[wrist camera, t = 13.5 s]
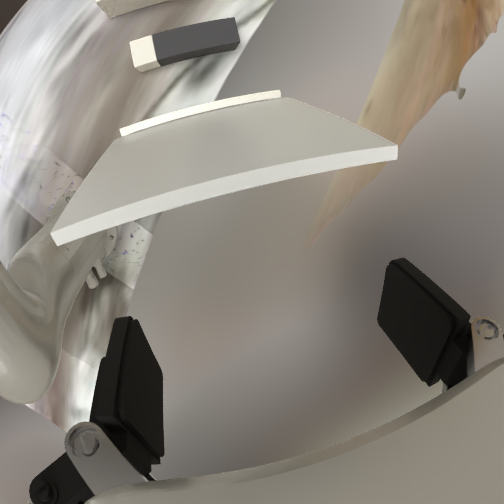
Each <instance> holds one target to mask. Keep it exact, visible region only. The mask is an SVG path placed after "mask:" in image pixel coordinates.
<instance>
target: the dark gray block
mask: <svg viewBox="0 0 504 504" xmlns="http://www.w3.org/2000/svg"><path fill="white" fill-rule="evenodd" d="M239 43H240V39H239V34H238V30H237V26H236V22H235V17H233V18H226V19H219V20H213V21H208V22H203V23H198V24H193V25H188V26H184V27H180V28H176V29H172V30H168V31H164V32H160V33H157V34H153V35H150V36H147V37H144V38H141V39H137V40H134V41H131V42H130V47H131V53H132V57H133V62H134V67H135V68H136V69H137V70H139V71H140V72H144V71H147V70H150V69H154V68H157V67H160V66H164V65H167V64H171V63H175V62H179V61H182V60H186V59H191V58H195V57H199V56H204V55H209V54H214V53H219V52H224V51H230V50H235V49H236V47H237V46H238V44H239Z"/></svg>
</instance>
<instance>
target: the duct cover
mask: <svg viewBox="0 0 504 504" xmlns="http://www.w3.org/2000/svg"><path fill="white" fill-rule="evenodd" d="M397 153H398V145H397V144H395V143H393V142H391V141H389V140H387V139H385V138H383V137H381V136H379V135H377V134H375V133H373V132H371V131H369V130H367V129H365V128H363V127H361V126H359V125H357V124H355V123H352V122H350V121H348V120H346V119H343V118H341V117H339V116H336V115H334V114H332V113H329V112H327V111H325V110H322V109H320V108H317V107H315V106H312V105H309V104H307V103H304V102H301V101H299V100H296V99H293V98H290V97H285V98H278V99H271V100H265V101H258V102H253V103H247V104H242V105H237V106H232V107H227V108H222V109H218V110H213V111H209V112H205V113H201V114H197V115H193V116H189V117H185V118H181V119H178V120H174V121H171V122H167V123H164V124H160V125H157V126H154V127H151V128H148V129H145V130H142V131H139V132H136V133H133V134H130V135H127V136H124V137H121V138H119V139H116V140H114V141H113V143H112V144H111V145H110V146H109V147H108V149H107V150H106V151H105V153H104V154H103V155H102V156H101V158H100V159H99V160H98V162H97V163H96V164H95V166H94V167H93V168H92V170H91V171H90V172H89V174H88V175H87V176H86V178H85V179H84V181H83V182H82V183H81V185H80V186H79V188H78V189H77V191H76V192H75V194H74V195H73V197H72V198H71V200H70V201H69V203H68V204H67V206H66V207H65V209H64V211H63V212H62V214H61V215H60V217H59V219H58V220H57V222H56V224H55V225H54V227H53V229H52V230H51V232H50V234H51V236H52V238H53V240H54V241H55V243H56V245H57V246H59V245H62V244H65V243H67V242H70V241H73V240H76V239H79V238H81V237H84V236H87V235H90V234H93V233H96V232H99V231H102V230H105V229H108V228H111V227H114V226H117V225H120V224H123V223H126V222H129V221H133V220H136V219H139V218H142V217H145V216H149V215H152V214H155V213H159V212H162V211H165V210H169V209H172V208H176V207H179V206H183V205H187V204H190V203H194V202H197V201H201V200H205V199H209V198H212V197H216V196H220V195H224V194H228V193H232V192H236V191H239V190H243V189H248V188H252V187H256V186H261V185H265V184H269V183H274V182H278V181H283V180H287V179H292V178H296V177H301V176H306V175H311V174H315V173H321V172H326V171H331V170H337V169H342V168H347V167H353V166H359V165H365V164H370V163H377V162H383V161H389V160H396V159H397Z"/></svg>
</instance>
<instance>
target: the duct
mask: <svg viewBox="0 0 504 504" xmlns="http://www.w3.org/2000/svg"><path fill="white" fill-rule="evenodd" d="M165 1H169V0H95V2H96V3H97V5H98V6H99V7H100V8H101V9H102V10H103V11H104V12H105V13H106V14H107V15H108V16H109V18H110V19H111V18H114V17H117V16H119V15H122V14H125V13H128V12H131V11H134V10H137V9H140V8H144V7H147V6H150V5H154V4H158V3H161V2H165ZM280 97H281V94H280V90H274V91H268V92H261V93H255V94H250V95H243V96H238V97H233V98H228V99H223V100H219V101H214V102H209V103H205V104H201V105H197V106H193V107H189V108H185V109H181V110H178V111H174V112H171V113H167V114H164V115H160V116H157V117H154V118H151V119H148V120H144V121H141V122H138V123H135V124H132V125H130V126H127V127H124V128H121V129H120V132H121V135H122V136H125V135H128V134H131V133H134V132H137V131H140V130H143V129H146V128H149V127H152V126H156V125H159V124H162V123H166V122H169V121H172V120H176V119H180V118H183V117H187V116H191V115H195V114H199V113H203V112H207V111H211V110H215V109H220V108H225V107H229V106H234V105H239V104H245V103H250V102H256V101H262V100H268V99H273V98H280Z"/></svg>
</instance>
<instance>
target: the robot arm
mask: <svg viewBox="0 0 504 504" xmlns="http://www.w3.org/2000/svg"><path fill="white" fill-rule="evenodd" d="M75 192H76V191H73V192H71V193H68V194H66V195H65V196H63V197H62V198H60V199H59V200H58V201H57V202H56V204H55V205H54V206H53V208H52V210H51V213H50V217H49V221H48V222H47V223H46V224H45V225H44V226H43V227H42V228H41V229H40V230H39V231H38V232H37V233H36V234H35V235H34V236H33V237H32V238H31V239H30V240H29V241H28V242H27V243H26V244H25V245H24V246H23V247H22V248H21V249H20V250H19V251H18V252H17V253H16V254H15V255H14V257H13V258H12V260H11V262H10V264H9V266H8V269H7V270H6V268H5V267H4V265H3V264H2V262H1V261H0V396H1V397H3V398H5V399H7V400H9V401H11V402H14V403H18V404H30V403H33V402H36V401H37V400H39V399H40V398H42V397H43V396H44V395H45V394H46V393H47V391H48V390H49V389H50V387H51V385H52V383H53V381H54V379H55V376H56V373H57V370H58V366H59V362H60V355H61V348H62V339H63V333H64V328H65V325H66V322H67V319H68V316H69V314H70V311H71V309H72V307H73V305H74V302H75V300H76V298H77V296H78V294H79V292H80V290H81V288H82V286H83V284H84V282H85V280H86V282H87V284H88V286H89V288H90V289H92V288H95V287H96V286H98V284H99V282H98V280H97V278H96V276H95V274H94V273H93V271H92V267H95V268H96V270H97V273H98V275H99V277H100V278H104V277H105V276H106V275H107V273H106V271H105V269H104V268H103V266H102V264H101V263H102V260H104V259H105V258H106V257H107V256H108V255H109V254H110V253H111V251H112V249H113V248H114V245H115V243H116V240H117V226H114V227H111V228H108V229H105V230H102V231H99V232H96V233H93V234H90V235H87V236H84V237H81V238H79V239H76V240H73V241H70V242H67V243H65V244H62V245H59V246H57V245H56V243H55V241H54V240H53V238H52V236H51V234H50V232H51V230H52V229H53V227H54V225H55V224H56V222H57V220H58V219H59V217H60V215H61V214H62V212H63V211H64V209H65V207H66V206H67V204H68V203H69V201H70V200H71V199H70V198H72V197H73V195H74V194H75ZM69 197H70V198H69ZM112 235H113V236H112ZM469 319H470V315H469V314H468V313H467V312H466V311H465V310H464V309H463V308H462V307H461V306H460V305H459V304H458V303H457V302H455V301H454V300H453V299H452V298H451V297H450V296H449V295H448V294H446V292H444V291H443V290H442V289H441V288H440V287H439V286H438V285H436V284H435V283H434V282H433V281H432V280H431V279H430V278H428V277H427V276H426V275H425V274H424V273H422V272H421V271H420V270H419V269H418V268H416V267H415V266H414V265H413V264H412V263H410V262H409V261H408V260H407V259H405V258H399V259H396V260H392V261H391V262H390V263H389V265H388V266H387V268H386V273H385V280H384V286H383V291H382V297H381V303H380V307H379V312H378V317H377V320H378V324H379V326H380V327H381V328H382V330H383V331H384V332H385V333H386V334H387V336H388V337H389V338H390V340H391V341H392V342H393V344H394V345H395V346H396V348H397V349H398V350H399V351H400V353H401V354H402V355H403V357H404V358H405V359H406V360H407V362H408V363H409V364H410V366H411V367H412V369H413V370H414V371H415V373H416V374H417V375H418V377H419V378H420V379H421V380H422V381H424V382H426V383H427V385H428V386H432V385H433V384H435V383H437V382H439V380H440V379H441V380H442V381H443V390H442V394H440V395H439V396H437V397H436V398H434V399H432V400H430V401H429V402H427V403H425V404H423V405H421V406H420V407H418V408H416V409H414V410H412V411H410V412H408V413H406V414H404V415H403V416H400V417H398V418H396V419H394V420H392V421H390V422H388V423H386V424H384V425H382V426H379V427H377V428H375V429H373V430H370V431H368V432H366V433H363V434H361V435H358V436H356V437H353V438H351V439H348V440H346V441H343V442H340V443H338V444H335V445H332V446H329V447H326V448H324V449H320V450H317V451H314V452H311V453H308V454H304V455H301V456H298V457H294V458H290V459H287V460H283V461H279V462H276V463H271V464H267V465H262V466H258V467H253V468H248V469H243V470H237V471H231V472H226V473H219V474H213V475H205V476H197V477H189V478H177V479H168V480H158V481H157V480H156V479H155V478H154V477H153V476H152V475H151V474H150V472H151V465H152V464H160V457H163V456H164V431H163V376H162V375H163V374H162V371H161V368H160V366H159V364H158V362H157V360H156V358H155V356H154V355H153V352H152V350H151V347H150V345H149V343H148V341H147V339H146V337H145V335H144V332H143V330H142V328H141V326H140V323H139V321H138V320H137V319H135V320H133V318H132V317H131V316H128V317H121V318H116V319H115V321H114V324H113V328H112V332H111V336H110V340H109V345H108V349H107V353H106V357H103V358H102V359H101V362H100V366H99V371H98V375H97V380H96V385H95V391H94V396H93V402H92V407H91V413H90V420H89V422H81V423H78V424H76V425H74V426H73V427H72V428H71V429H70V430H69V431H68V433H67V434H66V437H65V441H64V443H65V449H66V452H65V453H64V454H63V455H62V456H61V457H59V458H58V459H57V460H56V461H54V462H53V463H52V464H51V465H49V466H48V467H47V468H46V469H45V470H43V471H42V472H41V473H40V474H39V475H37V476H36V477H35V478H34V479H33V480H32V482H31V484H30V489H29V493H30V498H31V501H30V502H27V501H26V503H25V504H504V334H502V330H501V327H500V326H499V325H498V323H497V322H495V321H494V320H493V319H491V318H488V317H483V316H480V317H476V318H475V319H474V320H473V321H472V323H469Z"/></svg>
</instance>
